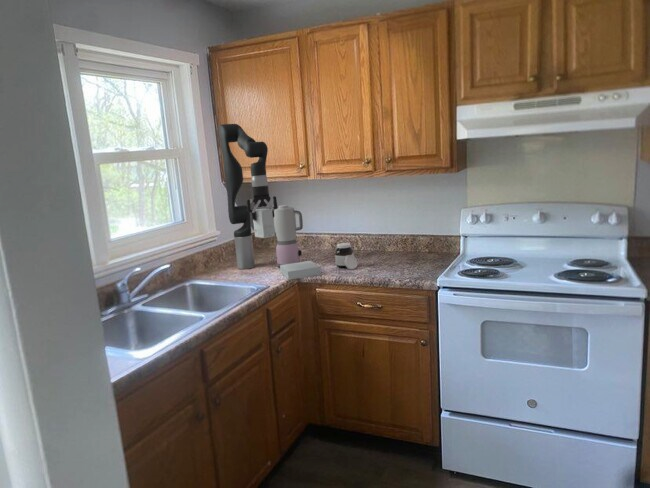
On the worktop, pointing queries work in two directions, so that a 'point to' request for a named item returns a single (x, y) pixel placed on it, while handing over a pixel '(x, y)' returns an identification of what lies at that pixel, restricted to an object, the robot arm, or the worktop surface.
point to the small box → (264, 223)
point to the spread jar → (345, 256)
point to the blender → (287, 235)
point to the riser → (300, 270)
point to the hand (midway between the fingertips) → (263, 219)
